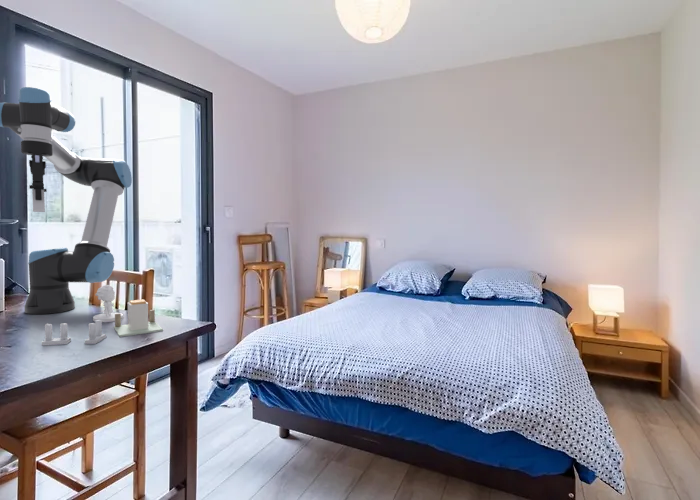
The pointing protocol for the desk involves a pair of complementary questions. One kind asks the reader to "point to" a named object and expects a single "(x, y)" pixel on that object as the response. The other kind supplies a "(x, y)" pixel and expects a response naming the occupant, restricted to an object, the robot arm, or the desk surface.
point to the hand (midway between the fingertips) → (39, 212)
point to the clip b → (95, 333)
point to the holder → (125, 331)
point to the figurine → (106, 304)
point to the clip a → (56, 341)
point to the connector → (137, 314)
